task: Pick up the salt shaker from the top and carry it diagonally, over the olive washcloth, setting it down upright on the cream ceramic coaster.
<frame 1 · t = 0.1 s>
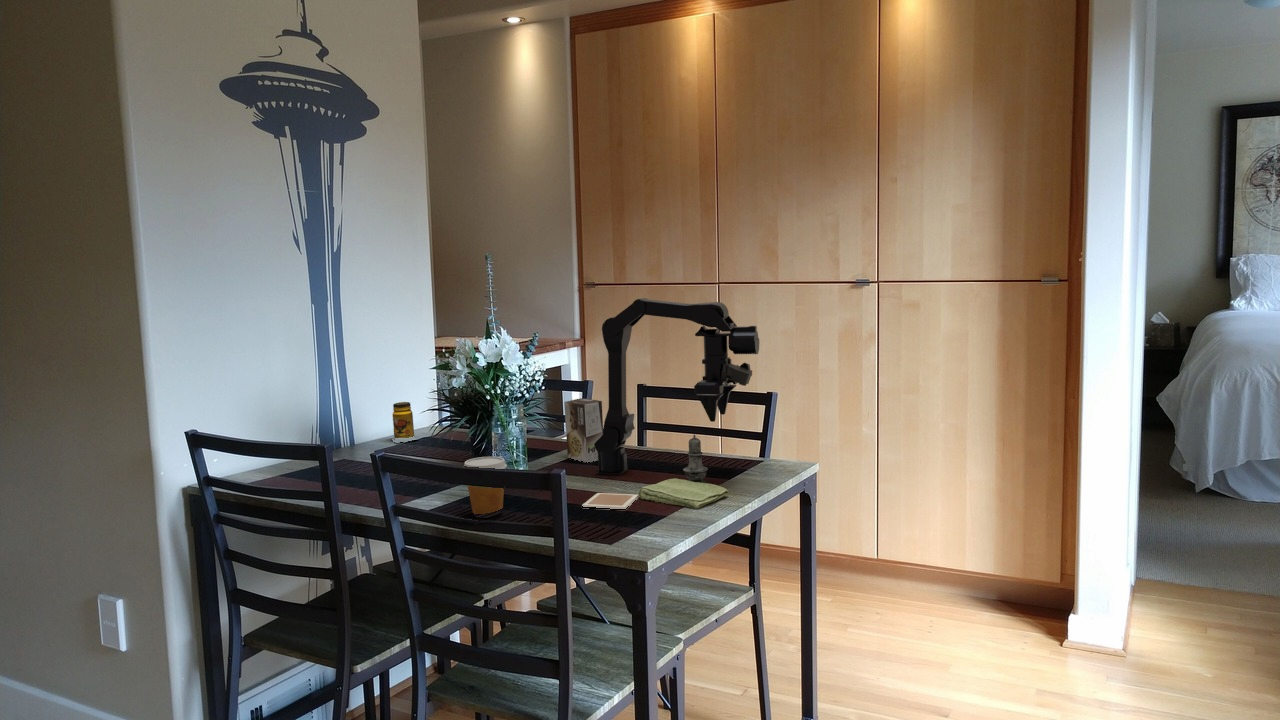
hand: (717, 417, 221), 15 cm above the table, tool pointing down, fingers open, 9 cm apart
salt shaker: (696, 484, 217), on the table
coffee box: (586, 459, 248), on the table
coaster: (610, 502, 204), on the table
disposable coffee cup: (487, 515, 198), on the table
washcloth: (683, 500, 205), on the table
condiment: (404, 441, 284), on the table
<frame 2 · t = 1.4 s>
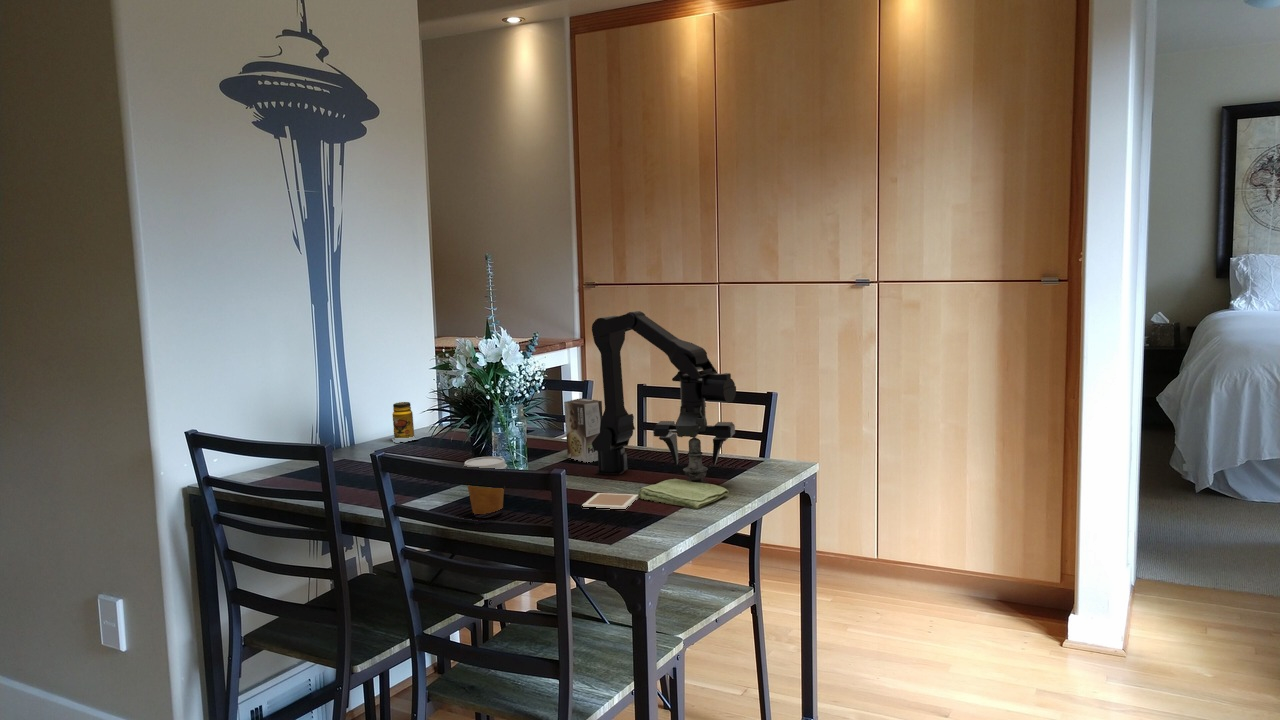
hand: (695, 464, 217), 5 cm above the table, tool pointing down, fingers open, 9 cm apart
nothing on the table moved.
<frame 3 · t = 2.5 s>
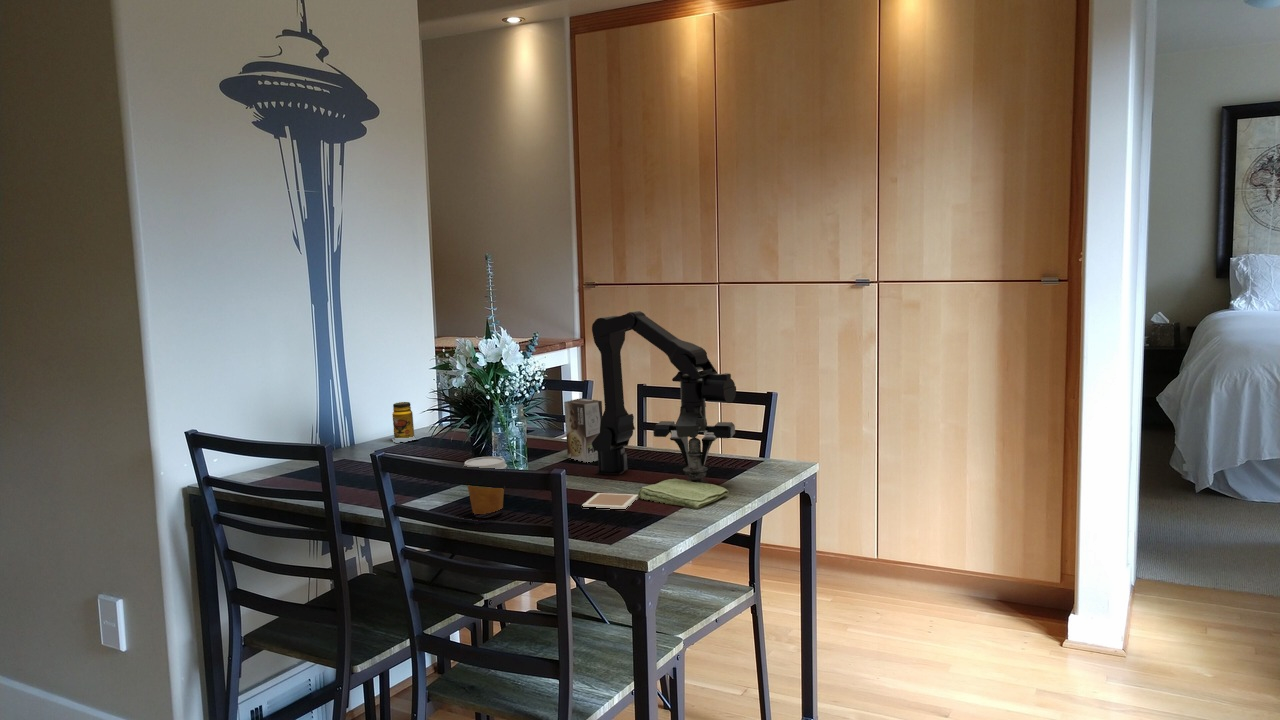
hand: (695, 465, 217), 5 cm above the table, tool pointing down, fingers closed on salt shaker, 3 cm apart
salt shaker: (696, 484, 217), on the table, touching gripper
everything else where it was.
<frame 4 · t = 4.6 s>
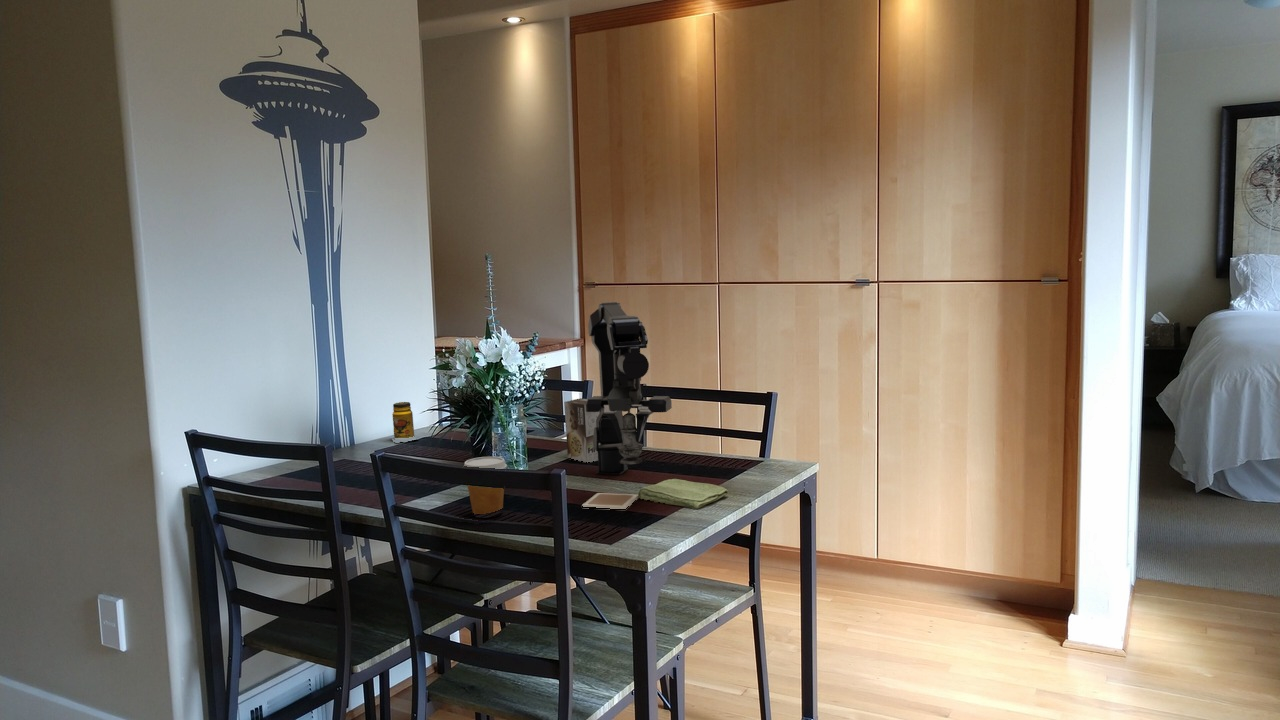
hand: (630, 441, 205), 13 cm above the table, tool pointing down, fingers closed on salt shaker, 3 cm apart
salt shaker: (631, 462, 206), point 8 cm above the table, touching gripper
everything else where it was.
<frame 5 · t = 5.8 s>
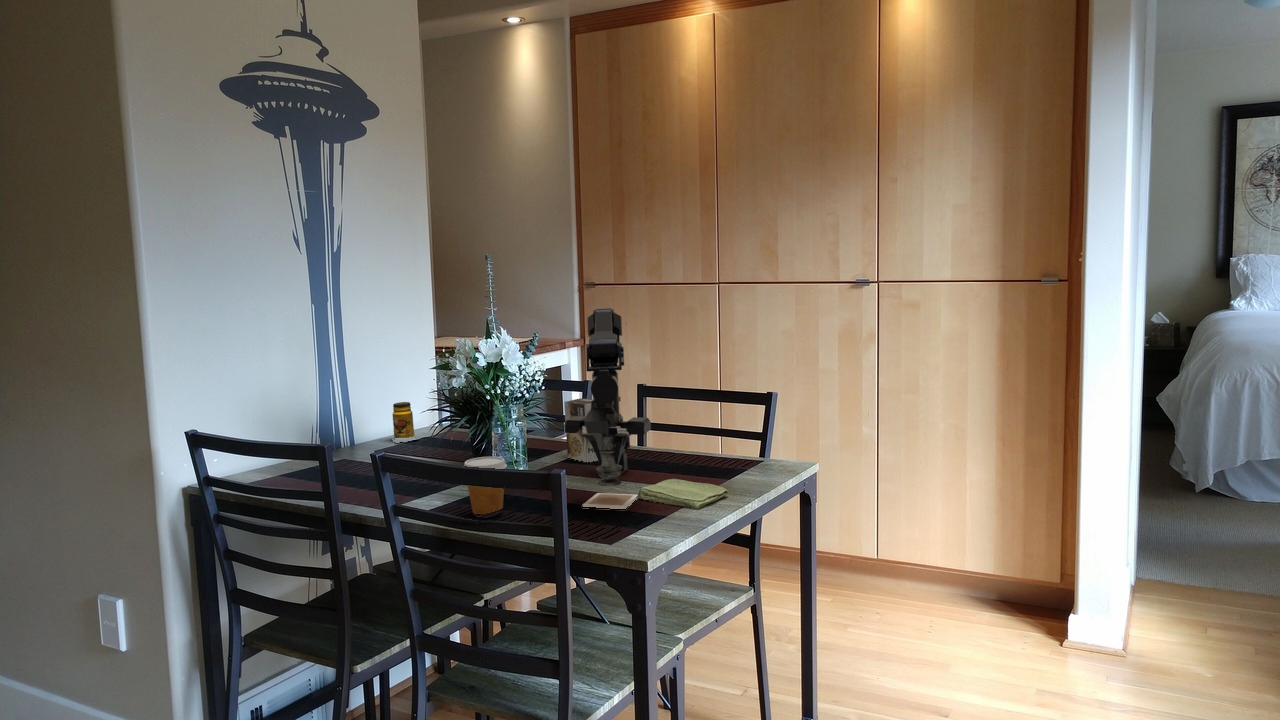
hand: (609, 463, 203), 9 cm above the table, tool pointing down, fingers closed on salt shaker, 3 cm apart
salt shaker: (610, 483, 203), point 4 cm above the table, touching gripper
everything else where it was.
when the fingers open (7 cm above the table, at t = 6.9 s): salt shaker drops 1 cm, resting on coaster.
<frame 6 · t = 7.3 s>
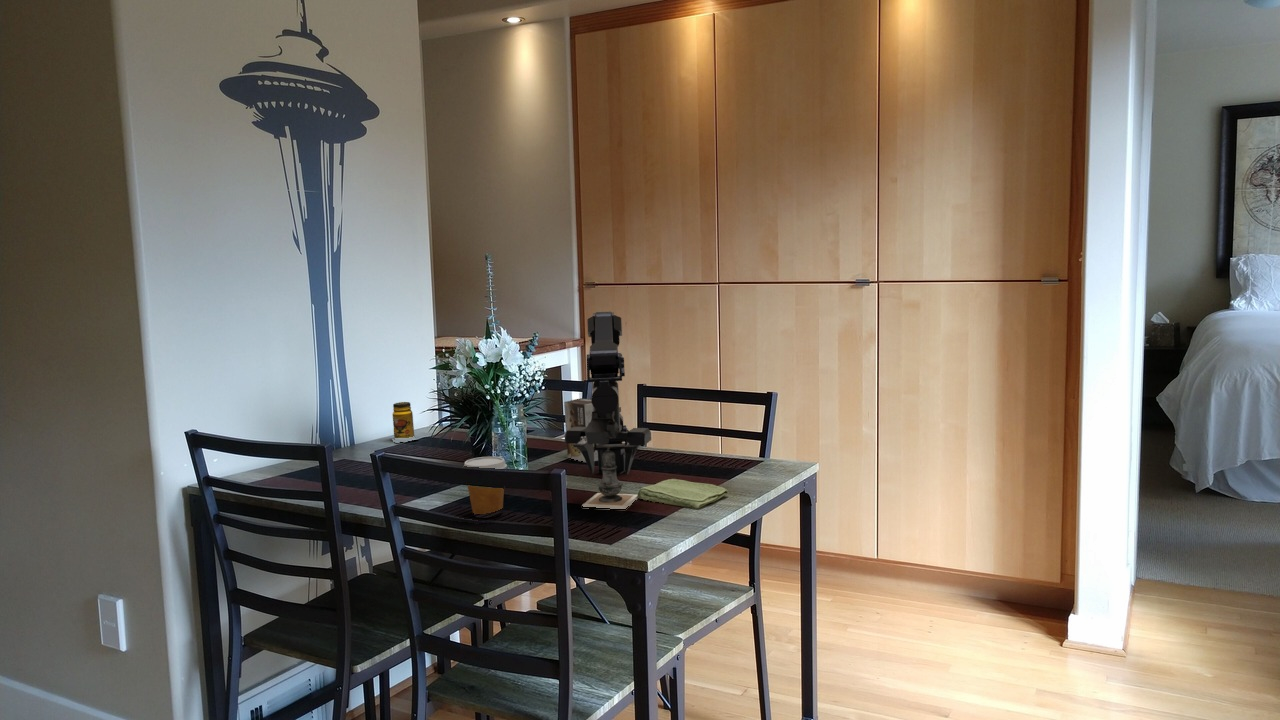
hand: (609, 473, 203), 7 cm above the table, tool pointing down, fingers open, 8 cm apart
salt shaker: (610, 500, 204), point 1 cm above the table, touching coaster
everything else where it was.
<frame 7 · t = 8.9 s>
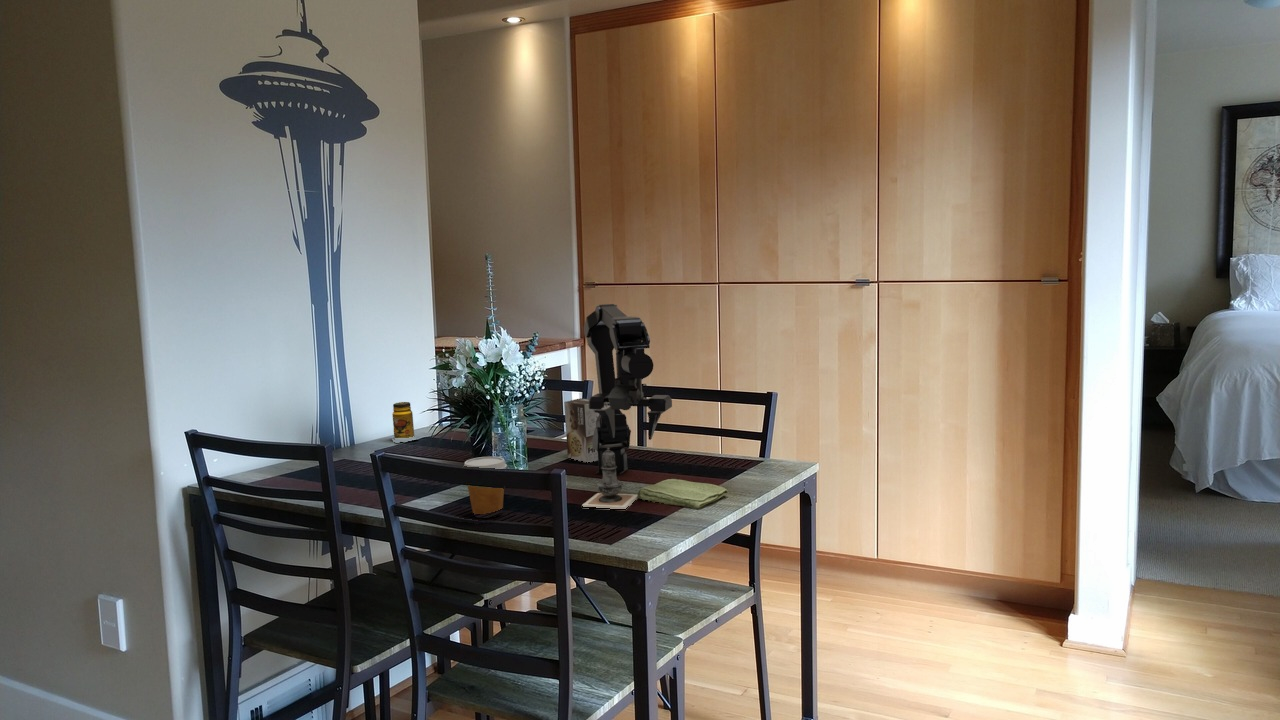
hand: (631, 438, 211), 13 cm above the table, tool pointing down, fingers open, 9 cm apart
nothing on the table moved.
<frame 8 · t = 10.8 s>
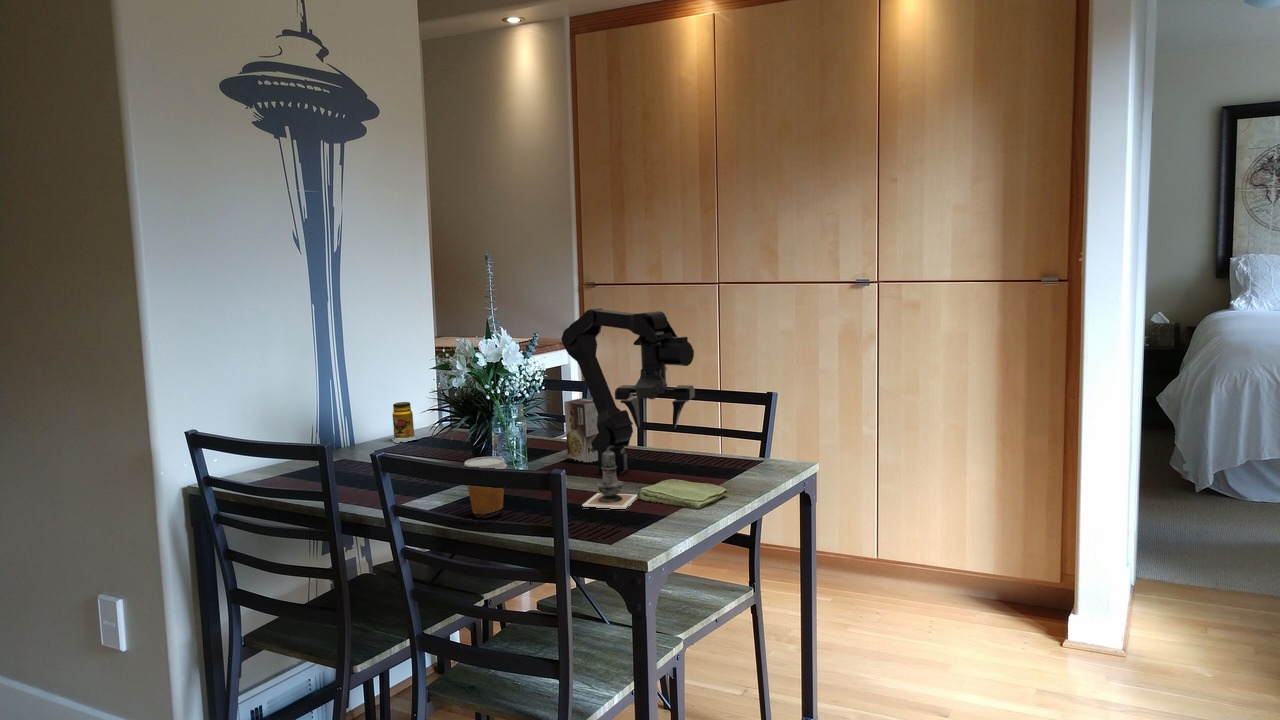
hand: (656, 427, 220), 13 cm above the table, tool pointing down, fingers open, 9 cm apart
nothing on the table moved.
at the end: salt shaker 0.1 cm from the coaster (horizontally); salt shaker tilted 0°; the gripper is holding nothing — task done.
